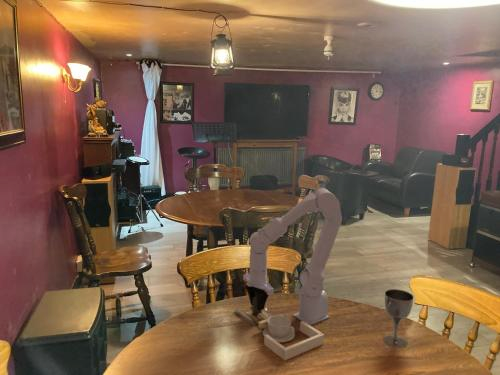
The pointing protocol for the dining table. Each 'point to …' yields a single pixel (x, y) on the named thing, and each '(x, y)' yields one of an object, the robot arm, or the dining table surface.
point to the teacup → (279, 328)
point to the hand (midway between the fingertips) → (257, 307)
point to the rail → (248, 316)
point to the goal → (297, 348)
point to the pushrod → (258, 315)
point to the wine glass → (397, 313)
